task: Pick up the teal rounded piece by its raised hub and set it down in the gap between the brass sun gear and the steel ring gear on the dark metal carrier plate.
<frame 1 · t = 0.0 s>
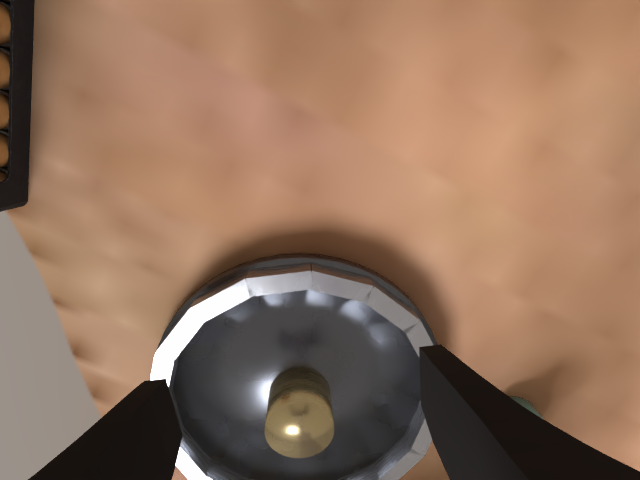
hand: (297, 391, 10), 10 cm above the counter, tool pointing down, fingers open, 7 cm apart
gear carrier: (299, 384, 23), on the counter
ammunition clip: (13, 89, 17), on the counter
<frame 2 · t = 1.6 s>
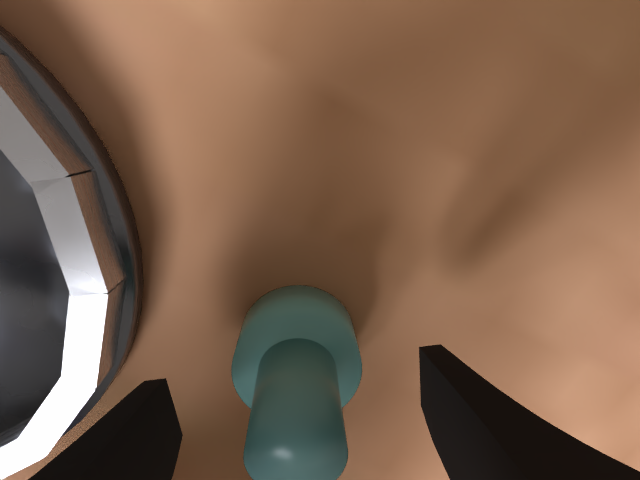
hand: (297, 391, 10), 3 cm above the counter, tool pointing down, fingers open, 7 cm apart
teal rounded piece: (297, 335, 13), on the counter
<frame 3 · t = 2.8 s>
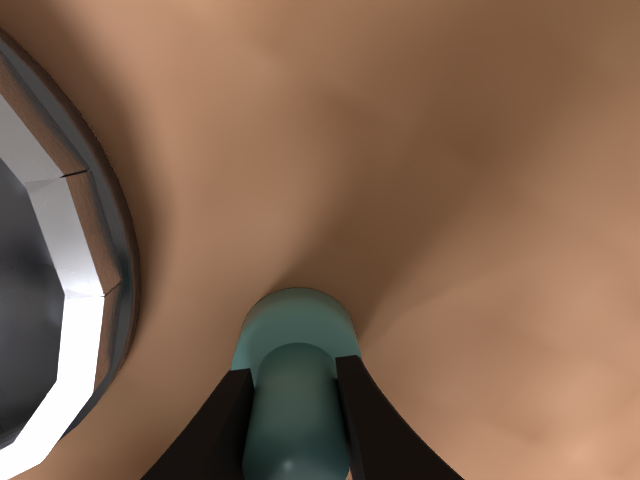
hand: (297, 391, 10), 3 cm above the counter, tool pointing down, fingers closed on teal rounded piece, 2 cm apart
teal rounded piece: (298, 339, 13), on the counter, touching gripper
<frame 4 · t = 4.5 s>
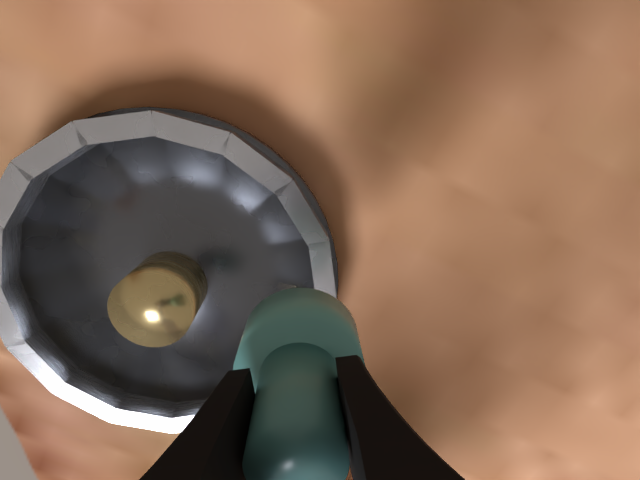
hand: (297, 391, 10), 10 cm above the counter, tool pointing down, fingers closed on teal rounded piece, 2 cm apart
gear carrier: (176, 278, 20), on the counter
teal rounded piece: (300, 339, 13), point 7 cm above the counter, touching gripper
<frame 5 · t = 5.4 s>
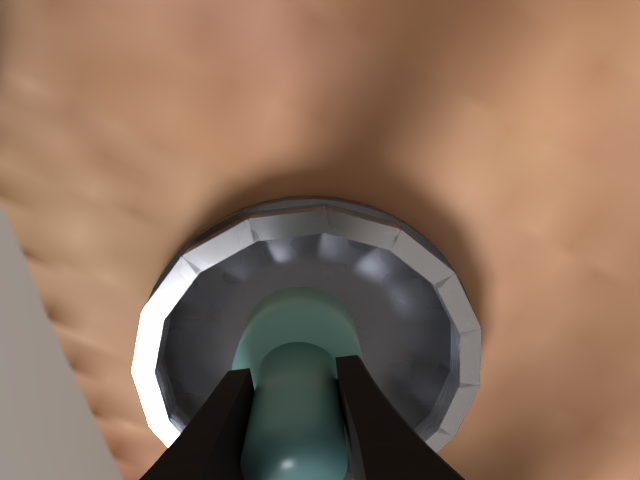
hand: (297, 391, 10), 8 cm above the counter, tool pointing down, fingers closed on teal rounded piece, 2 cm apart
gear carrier: (310, 354, 20), on the counter
teal rounded piece: (300, 338, 13), point 5 cm above the counter, touching gripper
when the fingers open (4 cm above the counter, at t = 6.2 s): teal rounded piece stays where it is, resting on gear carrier.
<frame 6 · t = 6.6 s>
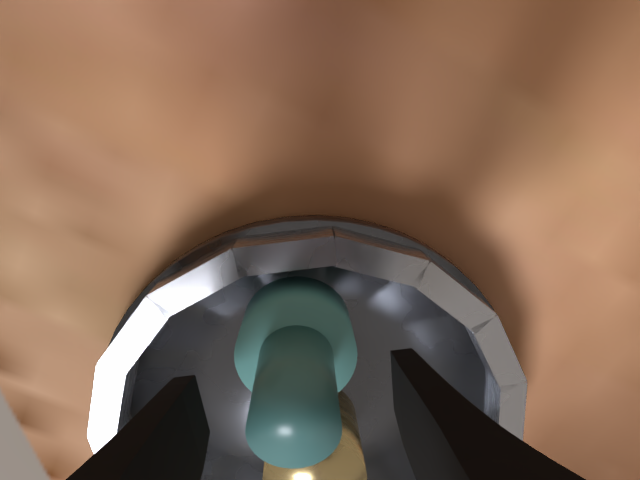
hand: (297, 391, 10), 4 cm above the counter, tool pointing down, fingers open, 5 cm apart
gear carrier: (312, 404, 16), on the counter
teal rounded piece: (297, 325, 14), point 1 cm above the counter, touching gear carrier
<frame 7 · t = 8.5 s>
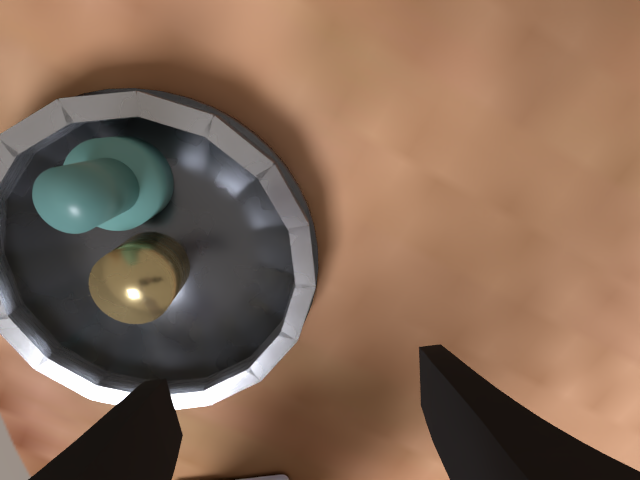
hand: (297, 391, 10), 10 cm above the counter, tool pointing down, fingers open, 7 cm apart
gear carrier: (160, 259, 20), on the counter
teal rounded piece: (131, 178, 18), point 1 cm above the counter, touching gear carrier
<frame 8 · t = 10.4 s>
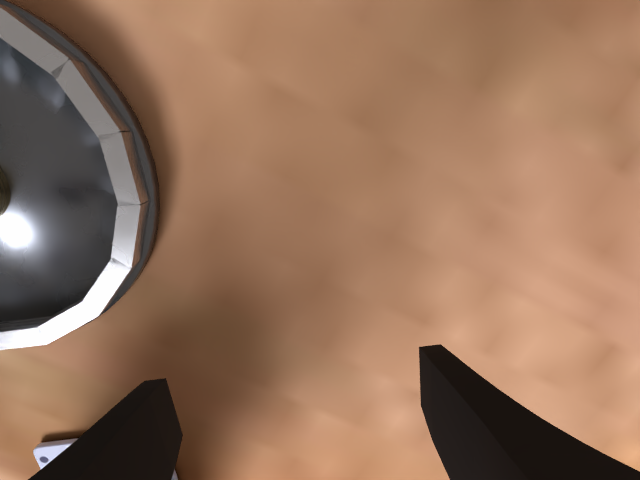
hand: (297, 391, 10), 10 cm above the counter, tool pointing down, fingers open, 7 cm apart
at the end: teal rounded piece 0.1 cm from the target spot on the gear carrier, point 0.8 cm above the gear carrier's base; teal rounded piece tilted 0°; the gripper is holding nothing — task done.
